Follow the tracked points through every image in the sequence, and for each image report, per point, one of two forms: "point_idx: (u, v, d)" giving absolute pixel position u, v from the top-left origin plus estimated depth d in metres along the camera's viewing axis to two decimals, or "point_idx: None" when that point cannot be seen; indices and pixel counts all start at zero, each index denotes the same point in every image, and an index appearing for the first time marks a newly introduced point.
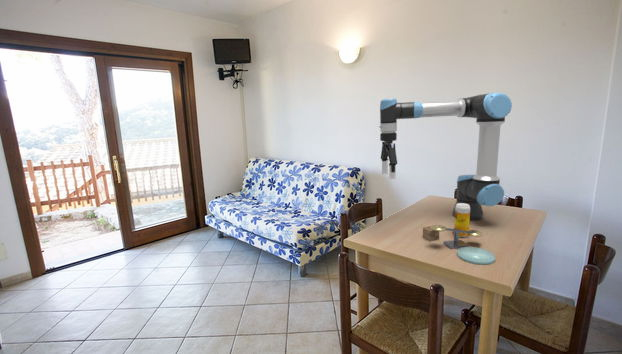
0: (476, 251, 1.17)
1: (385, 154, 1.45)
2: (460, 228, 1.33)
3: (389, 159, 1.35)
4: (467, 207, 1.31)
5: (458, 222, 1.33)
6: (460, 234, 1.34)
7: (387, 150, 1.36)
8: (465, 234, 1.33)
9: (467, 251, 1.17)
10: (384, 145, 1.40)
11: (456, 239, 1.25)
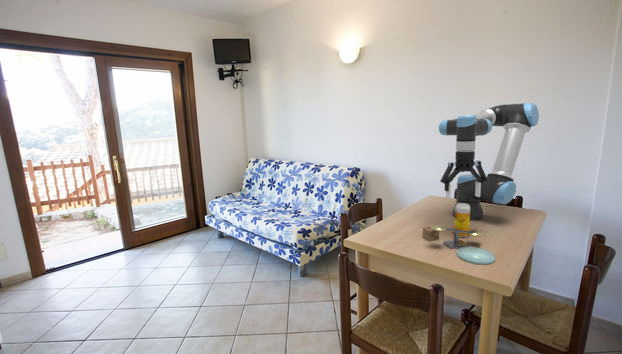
0: (476, 251, 1.17)
1: (473, 174, 1.31)
2: (460, 228, 1.33)
3: None
4: (467, 207, 1.31)
5: (458, 222, 1.33)
6: (460, 234, 1.34)
7: None
8: (465, 234, 1.33)
9: (467, 251, 1.17)
10: None
11: (456, 239, 1.25)
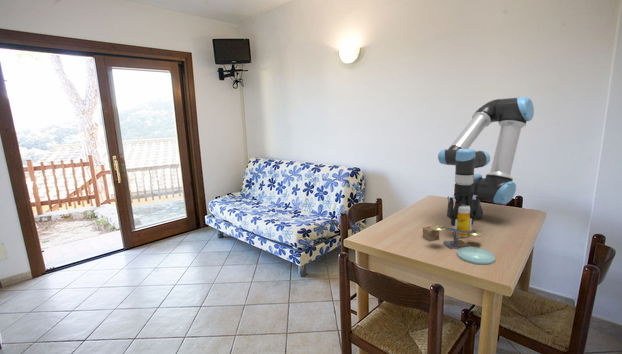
0: (476, 251, 1.17)
1: None
2: (460, 228, 1.33)
3: None
4: (467, 207, 1.31)
5: (458, 222, 1.33)
6: (460, 234, 1.34)
7: (455, 201, 1.35)
8: (465, 234, 1.33)
9: (467, 251, 1.17)
10: None
11: (456, 239, 1.25)
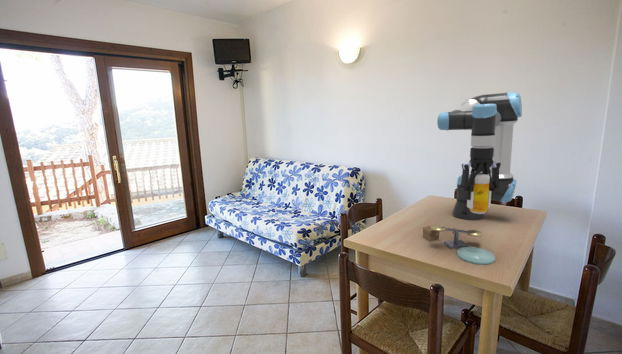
0: (476, 251, 1.17)
1: None
2: (477, 202, 1.09)
3: None
4: (486, 176, 1.07)
5: (475, 194, 1.09)
6: (477, 210, 1.09)
7: (471, 170, 1.10)
8: (483, 209, 1.09)
9: (467, 251, 1.17)
10: None
11: (456, 239, 1.25)
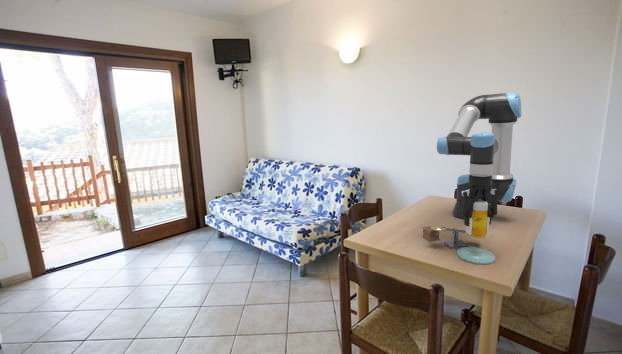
0: (476, 251, 1.17)
1: None
2: (476, 228, 1.11)
3: None
4: (484, 203, 1.09)
5: (473, 221, 1.11)
6: (475, 236, 1.11)
7: (470, 197, 1.12)
8: (482, 236, 1.11)
9: (467, 251, 1.17)
10: None
11: (456, 239, 1.25)
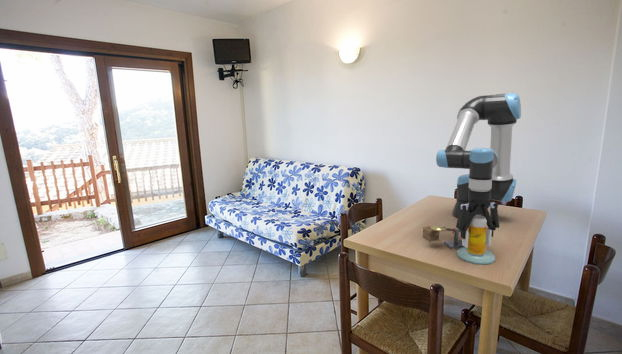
0: None
1: None
2: (475, 245, 1.12)
3: None
4: (483, 220, 1.10)
5: (472, 237, 1.12)
6: (475, 252, 1.13)
7: (468, 210, 1.13)
8: (481, 252, 1.12)
9: (467, 251, 1.17)
10: None
11: (456, 239, 1.25)
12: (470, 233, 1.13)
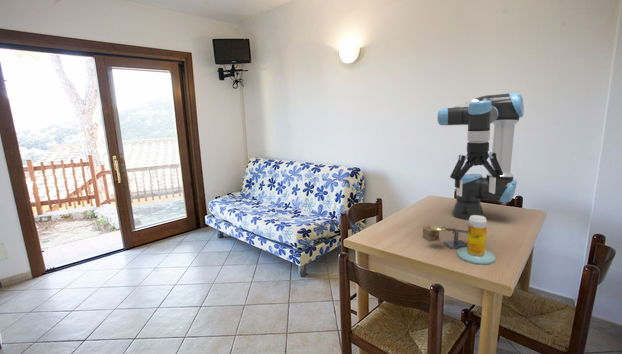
0: None
1: (487, 168, 1.16)
2: (475, 245, 1.12)
3: None
4: (483, 220, 1.10)
5: (472, 237, 1.12)
6: (475, 252, 1.13)
7: (466, 162, 1.16)
8: (481, 252, 1.12)
9: (467, 251, 1.17)
10: None
11: (456, 239, 1.25)
12: (470, 234, 1.13)
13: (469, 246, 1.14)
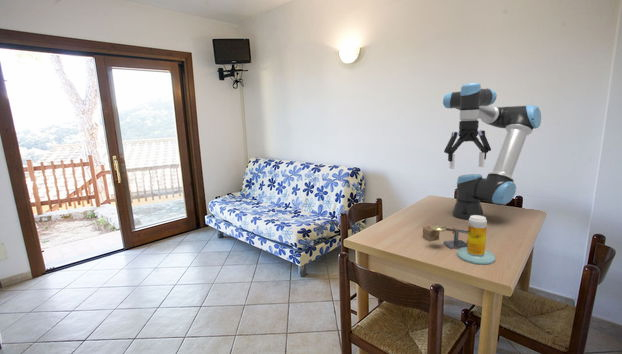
0: None
1: (477, 144, 1.31)
2: (475, 245, 1.12)
3: None
4: (483, 220, 1.10)
5: (472, 237, 1.12)
6: (475, 252, 1.13)
7: (458, 139, 1.31)
8: (481, 252, 1.12)
9: (467, 251, 1.17)
10: None
11: (456, 239, 1.25)
12: (470, 234, 1.13)
13: (469, 246, 1.14)
